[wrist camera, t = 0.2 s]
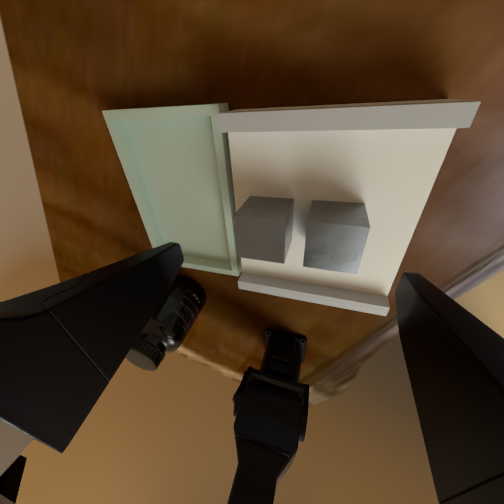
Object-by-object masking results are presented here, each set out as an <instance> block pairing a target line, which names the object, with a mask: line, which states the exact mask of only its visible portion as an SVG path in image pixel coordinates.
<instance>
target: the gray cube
mask: <svg viewBox="0 0 504 504" xmlns="http://www.w3.org/2000/svg"><path fill="white" fill-rule="evenodd" d="M293 214H294V199H290V198H275V197H259V196H249V198H248V199H247V200H246V201H245V202H244V203H243V205H242V206H241V207H240V208H239V209H238V211H237V212H236V213H235V214H234V222H235V231H236V240H237V249H238V257H240V258H247V259H254V260H261V261H268V262H275V263H282V264H284V263H285V260H286V257H287V253H288V250H289V247H290V244H291V241H292V232H293Z"/></svg>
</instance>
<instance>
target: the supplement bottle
mask: <svg viewBox="0 0 504 504" xmlns="http://www.w3.org/2000/svg"><path fill="white" fill-rule="evenodd" d="M205 303H206V294H205V292H204V290H203V289H202V287H201V286H200V285H199V284H198V283H196V282H195V281H193V280H191V279H189V278H186V277H176V278H175V280H174V282H173V284H172V285H171V287H170V289H169V291H168V292H167V294H166V295H165V297H164V299H163V300H162V302H161V303H160V305H159V306H158V308H157V309H156V311H155V312H154V314H153V315H152V317H151V319H150V320H149V322H148V323H147V325H146V326H145V328H144V329H143V331H142V332H141V334H140V335H139V337H138V338H137V340H136V342H135V343H134V345H133V346H132V348H131V349H130V351H129V352H128V354H127V355H126V357H125V358H126V359H127V360H128V361H130V362H131V363H132V364H134V365H135V366H137V367H139V368H142V369H144V370H148V371H154V370H156V369H157V367H158V366H159V364H160V363H161V361H162V360H163V359H164V357H165V353H170V352H173V351H175V350H177V349H178V348H179V346H180V345H181V343H182V342H183V340H184V339H185V337H186V335H187V334H188V332H189V330H190V329H191V327H192V325H193V324H194V322H195V320H196V319H197V317H198V315H199V313H200V312H201V310H202V308H203V307H204V305H205Z"/></svg>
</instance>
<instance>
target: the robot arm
mask: <svg viewBox="0 0 504 504" xmlns="http://www.w3.org/2000/svg"><path fill="white" fill-rule="evenodd" d="M183 262H184V256H183V253H182V249H181V246H180V244H179V243H175V242H169V243H166V244H163V245H161V246H158V247H155V248H153V249H150V250H147V251H145V252H142V253H139V254H137V255H134V256H131V257H129V258H126V259H123V260H121V261H118V262H115V263H113V264H110V265H107V266H105V267H102V268H99V269H97V270H94V271H91V272H89V273H86V274H83V275H81V276H78V277H75V278H72V279H70V280H67V281H64V282H61V283H58V284H55V285H52V286H50V287H47V288H43V289H40V290H37V291H34V292H31V293H28V294H25V295H22V296H20V297H16V298H13V299H10V300H6V301H3V302H0V504H15V503H16V499H17V495H18V491H19V487H20V483H21V478H22V475H23V471H24V467H25V463H26V459H27V458H26V457H24V456H22V455H20V454H21V453H22V452H23V451H24V449H25V448H26V447H27V446H28V445H29V444H30V443H31V441H32V440H33V439H35V440H37V441H39V442H41V443H43V444H45V445H46V446H48V447H50V448H52V449H54V450H56V451H58V452H60V453H63V451H64V450H65V449H66V447H67V446H68V445H69V443H70V442H71V440H72V439H73V437H74V435H75V434H76V433H77V431H78V429H79V428H80V426H81V425H82V423H83V422H84V420H85V419H86V417H87V416H88V414H89V412H90V411H91V409H92V408H93V406H94V405H95V403H96V401H97V400H98V399H99V397H100V396H101V394H102V392H103V391H104V389H105V388H106V386H107V385H108V383H109V381H110V380H111V378H112V377H113V375H114V374H115V372H116V371H117V369H118V368H119V366H120V364H121V363H122V361H123V360H124V358H125V357H126V355H127V354H128V352H129V351H130V349H131V348H132V346H133V345H134V343H135V342H136V340H137V338H138V337H139V335H140V334H141V332H142V331H143V329H144V328H145V326H146V325H147V323H148V322H149V320H150V319H151V317H152V315H153V314H154V312H155V311H156V309H157V308H158V306H159V305H160V303H161V302H162V300H163V299H164V297H165V295H166V294H167V292H168V291H169V289H170V287H171V285H172V284H173V282H174V280H175V278H176V276H177V274H178V272H179V270H180V268H181V266H182V264H183ZM395 295H396V306H397V317H398V327H399V335H400V340H401V344H402V348H403V352H404V357H405V361H406V365H407V370H408V374H409V378H410V382H411V387H412V391H413V395H414V400H415V404H416V408H417V412H418V417H419V421H420V425H421V429H422V434H423V438H424V442H425V446H426V451H427V455H428V459H429V464H430V468H431V472H432V476H433V480H434V485H435V489H436V493H437V497H438V501H439V504H504V338H502V337H501V336H500V335H498V334H497V333H496V332H494V331H493V330H492V329H491V328H489V327H488V326H487V325H485V324H484V323H483V322H481V321H480V320H479V319H478V318H476V317H475V316H474V315H472V314H471V313H470V312H468V311H467V310H466V309H465V308H463V307H462V306H461V305H459V304H458V303H457V302H455V301H454V300H453V299H451V298H450V297H449V296H448V295H446V294H445V293H444V292H442V291H441V290H440V289H438V288H437V287H436V286H435V285H433V284H432V283H431V282H429V281H428V280H427V279H425V278H424V277H423V276H421V275H420V274H419V273H414V272H404V273H403V274H402V276H401V279H400V281H399V283H398V286H397V288H396V293H395ZM306 344H307V338H305V337H301V336H297V335H293V334H288V333H284V332H280V331H275V330H271V329H266V330H265V353H264V356H263V360H262V363H261V367H260V370H257V369H254V368H253V367H250V366H249V368H248V370H247V371H245V373H244V376H243V379H242V381H241V384H240V386H239V387H238V389H237V391H236V393H235V394H234V396H233V403H234V416H235V417H236V419H235V423H234V433H235V441H236V442H235V443H236V450H237V458H238V466H237V471H236V474H235V478H234V481H233V485H232V489H231V493H230V496H229V500H228V504H273V502H274V495H275V489H276V486H277V484H278V483H279V482H280V480H281V479H282V477H283V476H284V475H285V473H286V472H287V470H288V469H289V468H290V466H291V465H292V463H293V460H294V458H295V455H296V452H297V448H298V441H301V442H303V441H304V437H305V432H306V425H307V416H308V400H309V385H308V384H302V383H299V375H300V368H301V363H303V362H304V358H305V351H306Z"/></svg>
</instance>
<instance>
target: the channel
mask: <svg viewBox="0 0 504 504" xmlns="http://www.w3.org/2000/svg"><path fill="white" fill-rule="evenodd" d="M480 103H481V101H468V100H456V99H436V100H416V101H396V102H375V103H355V104H335V105H315V106H295V107H274V108H254V109H238V110H233V111H228V112H222V113H218V122H219V130H220V133H227V132H228V138H229V147H230V157H231V167H232V177H233V186H234V196H235V206H236V212H237V211H238V209H239V208H240V207H241V206H242V205H243V203H244V202H245V201H246V200H247V199H248V198H249V196H259V197H275V198H290V199H294V214H293V232H292V241H291V244H290V247H289V250H288V253H287V257H286V260H285V263H284V264H282V263H275V262H268V261H261V260H254V259H247V258H241V264H242V274H241V276H240V278H239V280H238V287H239V289H243V290H248V291H254V292H259V293H264V294H270V295H275V296H280V297H286V298H291V299H296V300H302V301H307V302H313V303H318V304H323V305H329V306H334V307H339V308H345V309H350V310H355V311H361V312H366V313H371V314H377V315H382V316H386V315H387V313H388V311H389V309H390V306H389V302H388V298H387V295H388V293H389V290H390V288H391V286H392V283H393V281H394V278H395V276H396V274H397V271H398V269H399V266H400V264H401V261H402V259H403V257H404V254H405V252H406V249H407V247H408V245H409V242H410V240H411V237H412V235H413V233H414V230H415V228H416V225H417V223H418V220H419V218H420V216H421V213H422V211H423V208H424V206H425V204H426V201H427V199H428V196H429V194H430V191H431V189H432V187H433V184H434V182H435V179H436V177H437V175H438V172H439V170H440V167H441V165H442V162H443V160H444V158H445V155H446V153H447V150H448V148H449V146H450V143H451V141H452V138H453V136H454V133H455V131H456V129H457V128H470V126H471V123H472V121H473V119H474V117H475V114H476V112H477V110H478V107H479V105H480ZM312 200H322V201H337V202H353V203H365V207H366V211H367V215H368V219H369V224H370V230H369V234H368V237H367V241H366V245H365V248H364V252H363V255H362V259H361V262H360V266H359V269H358V273H357V274H351V273H344V272H337V271H330V270H323V269H316V268H309V267H303V260H304V250H305V240H306V229H307V221H308V216H309V212H310V208H311V204H312Z"/></svg>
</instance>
